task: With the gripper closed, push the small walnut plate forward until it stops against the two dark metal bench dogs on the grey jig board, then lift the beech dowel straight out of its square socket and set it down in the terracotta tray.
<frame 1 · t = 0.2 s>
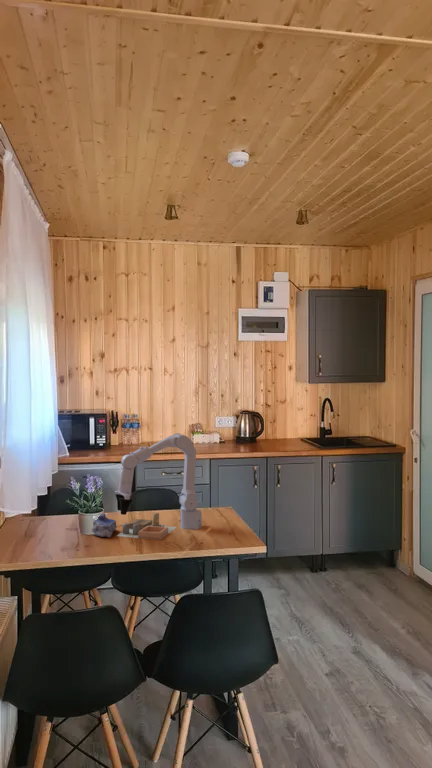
hand: (121, 512, 248), 10 cm above the table, tool pointing down, fingers open, 7 cm apart
dowel: (156, 529, 255), point 1 cm above the table, touching jig board
tray: (153, 535, 246), resting on jig board
jig board: (147, 533, 252), on the table
mineral: (103, 535, 249), on the table
plate: (140, 527, 259), point 1 cm above the table, touching jig board
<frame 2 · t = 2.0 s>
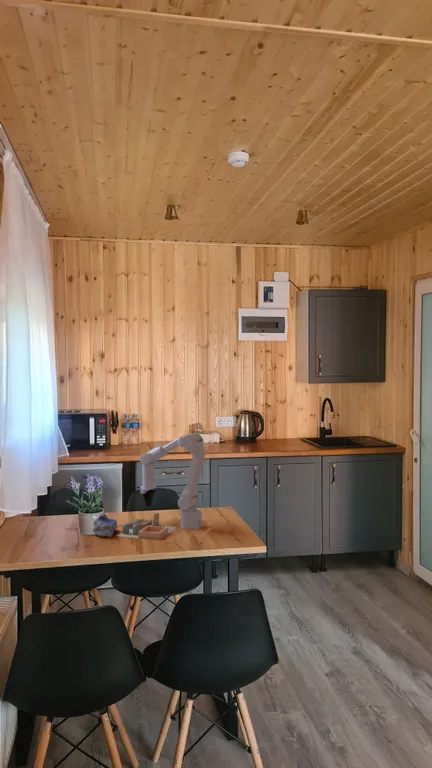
hand: (148, 505, 267), 9 cm above the table, tool pointing down, fingers closed
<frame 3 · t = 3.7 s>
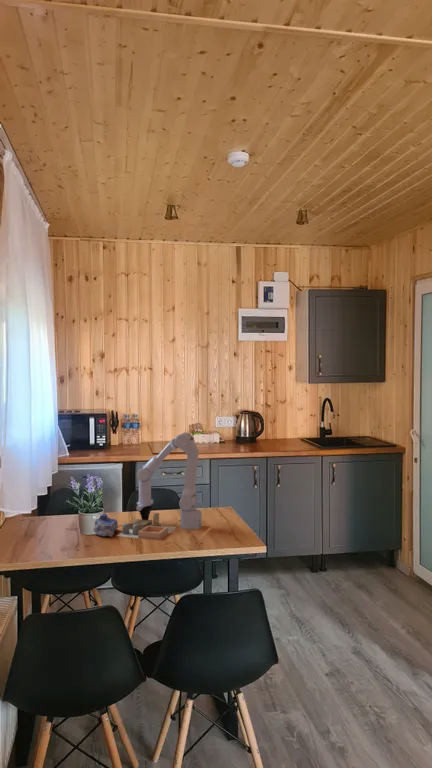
hand: (145, 522, 263), 2 cm above the table, tool pointing down, fingers closed
plate: (140, 527, 259), point 1 cm above the table, touching gripper
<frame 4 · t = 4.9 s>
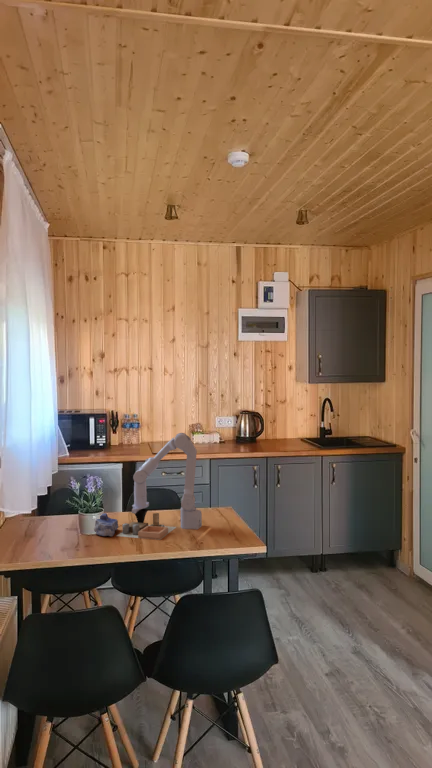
hand: (140, 525, 258), 2 cm above the table, tool pointing down, fingers closed
plate: (136, 530, 254), point 1 cm above the table, touching gripper, jig board
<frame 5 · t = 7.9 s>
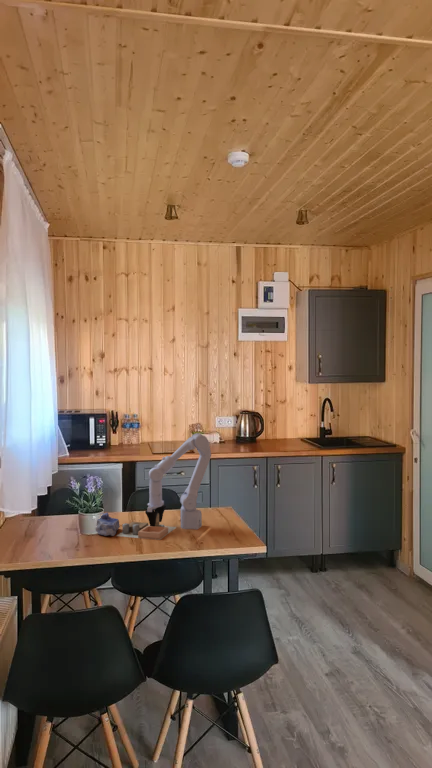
hand: (155, 524, 255), 3 cm above the table, tool pointing down, fingers open, 7 cm apart
plate: (136, 530, 254), point 1 cm above the table, touching jig board
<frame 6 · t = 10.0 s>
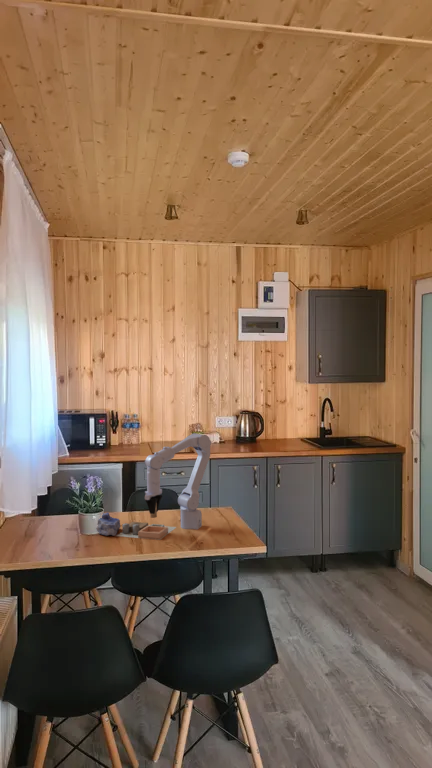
hand: (153, 512, 249), 10 cm above the table, tool pointing down, fingers closed on dowel, 3 cm apart
dowel: (153, 517, 249), point 8 cm above the table, touching gripper
when the fingers open (5 cm above the table, at t = 11.5 s): dowel drops 1 cm, resting on tray.
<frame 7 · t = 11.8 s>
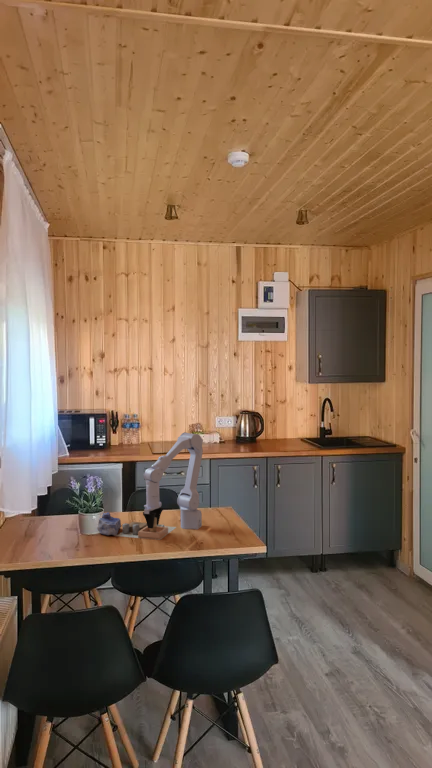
hand: (153, 526, 246), 5 cm above the table, tool pointing down, fingers open, 5 cm apart
dowel: (153, 533, 246), point 1 cm above the table, touching tray
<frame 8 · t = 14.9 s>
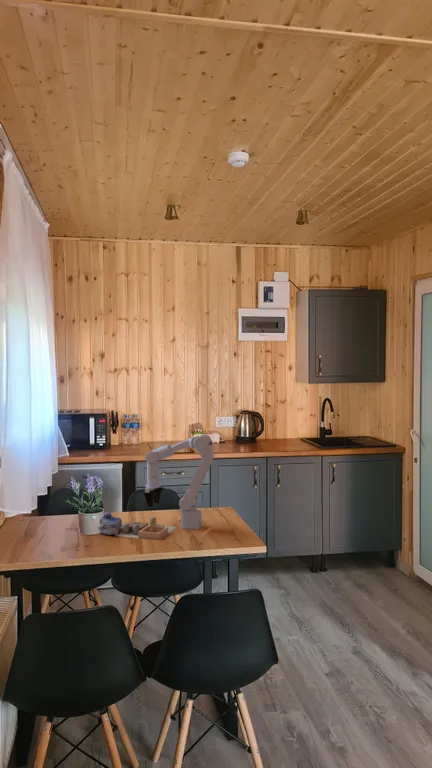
hand: (153, 504, 263), 10 cm above the table, tool pointing down, fingers open, 7 cm apart
at the end: plate 0.3 cm from the target spot, point 0.8 cm above the table; dowel inside the target area on the tray (0.1 cm from its centre), point 0.5 cm above the tray's base; the gripper is holding nothing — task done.
